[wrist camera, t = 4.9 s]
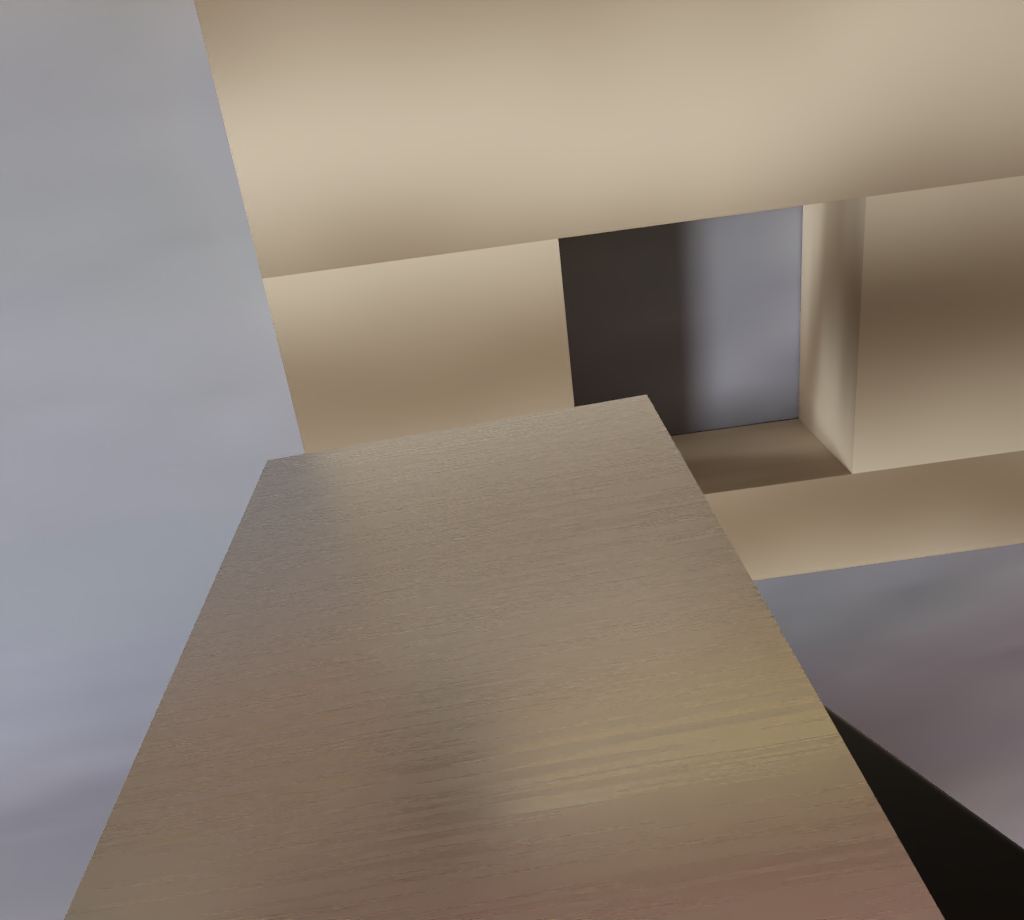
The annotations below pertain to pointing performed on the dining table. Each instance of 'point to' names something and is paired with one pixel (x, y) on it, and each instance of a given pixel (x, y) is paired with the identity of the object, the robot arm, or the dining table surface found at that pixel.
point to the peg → (493, 705)
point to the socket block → (648, 202)
